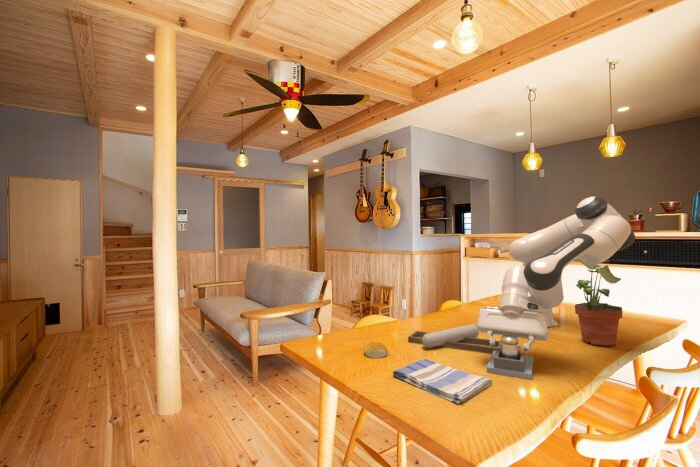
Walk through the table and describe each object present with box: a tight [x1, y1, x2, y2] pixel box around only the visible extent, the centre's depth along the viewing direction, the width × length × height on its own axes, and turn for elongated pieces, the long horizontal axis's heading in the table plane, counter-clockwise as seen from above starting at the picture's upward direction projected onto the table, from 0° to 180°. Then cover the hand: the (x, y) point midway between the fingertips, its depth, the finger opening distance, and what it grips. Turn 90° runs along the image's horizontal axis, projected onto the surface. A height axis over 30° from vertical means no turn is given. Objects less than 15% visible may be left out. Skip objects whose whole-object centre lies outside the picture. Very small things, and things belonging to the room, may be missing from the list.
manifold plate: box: [486, 345, 534, 381], centre depth 107 cm, size 16×12×4 cm
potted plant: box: [574, 258, 623, 347], centre depth 125 cm, size 16×15×35 cm
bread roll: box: [363, 341, 389, 359], centre depth 121 cm, size 8×9×4 cm
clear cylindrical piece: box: [500, 335, 519, 360], centre depth 104 cm, size 5×5×8 cm
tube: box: [421, 323, 480, 349], centre depth 129 cm, size 5×5×25 cm
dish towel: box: [392, 358, 493, 405], centre depth 98 cm, size 17×24×3 cm
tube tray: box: [407, 330, 502, 355], centre depth 129 cm, size 9×33×2 cm, turn 60°
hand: (508, 347), depth 103 cm, fingers open, 8 cm apart
